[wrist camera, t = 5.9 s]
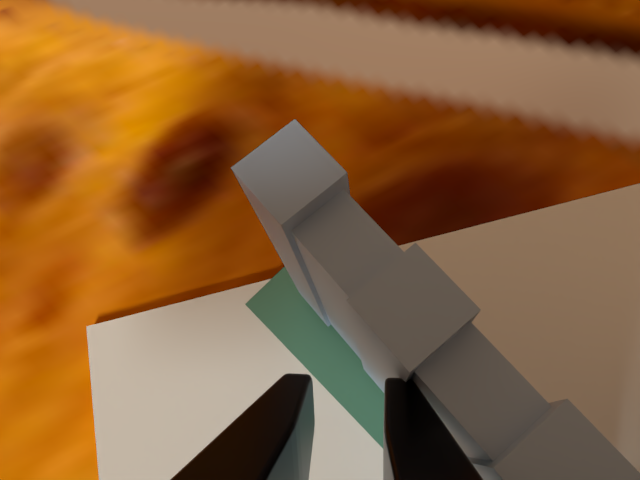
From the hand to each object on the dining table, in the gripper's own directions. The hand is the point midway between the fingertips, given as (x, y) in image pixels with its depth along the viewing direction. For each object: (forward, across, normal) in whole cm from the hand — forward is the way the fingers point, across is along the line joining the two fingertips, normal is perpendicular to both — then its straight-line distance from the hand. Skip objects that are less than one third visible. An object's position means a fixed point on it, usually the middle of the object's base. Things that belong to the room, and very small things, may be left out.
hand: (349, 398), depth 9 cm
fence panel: (+4, -2, +4) cm, 6 cm away
